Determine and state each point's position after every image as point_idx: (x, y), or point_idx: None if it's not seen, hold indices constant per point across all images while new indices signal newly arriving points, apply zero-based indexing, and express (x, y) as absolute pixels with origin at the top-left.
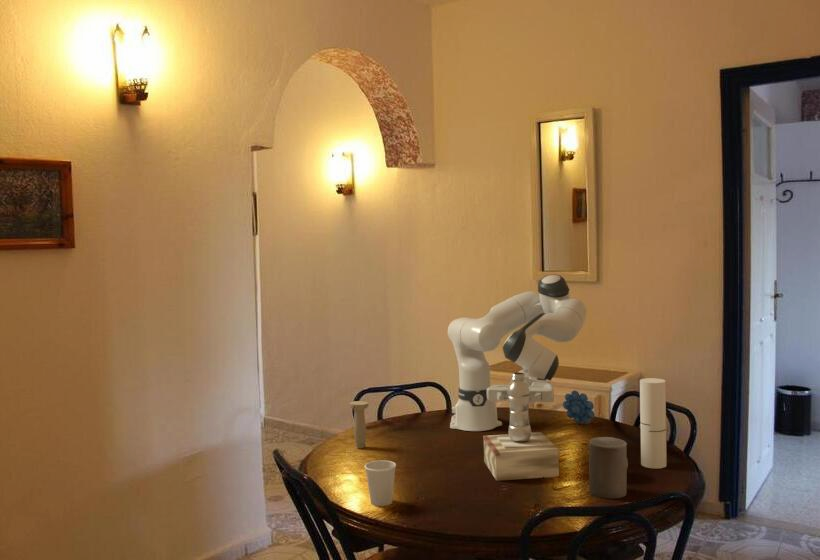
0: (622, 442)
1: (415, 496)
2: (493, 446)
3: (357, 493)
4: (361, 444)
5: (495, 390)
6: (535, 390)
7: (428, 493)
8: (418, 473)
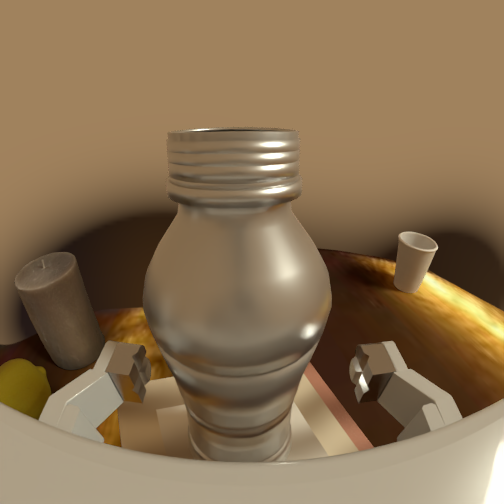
0: (25, 269)
1: (384, 304)
2: (321, 390)
3: (448, 297)
4: None
5: (482, 410)
6: (66, 432)
7: (376, 315)
8: (450, 379)
